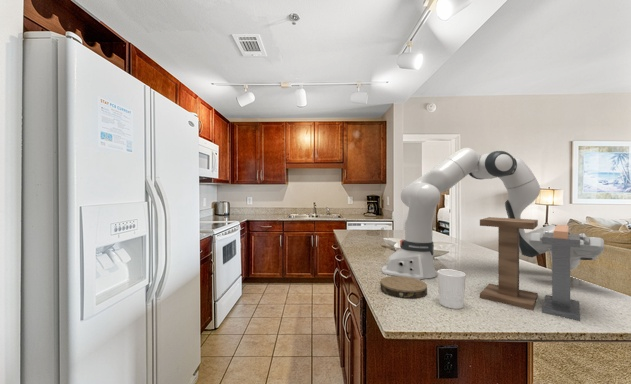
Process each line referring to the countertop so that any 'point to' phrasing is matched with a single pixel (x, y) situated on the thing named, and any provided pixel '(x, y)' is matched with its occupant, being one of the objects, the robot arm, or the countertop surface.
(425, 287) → the round wood slice
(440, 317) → the countertop surface
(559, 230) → the terracotta bar
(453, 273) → the white cup
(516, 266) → the walnut stand
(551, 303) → the grey stand
